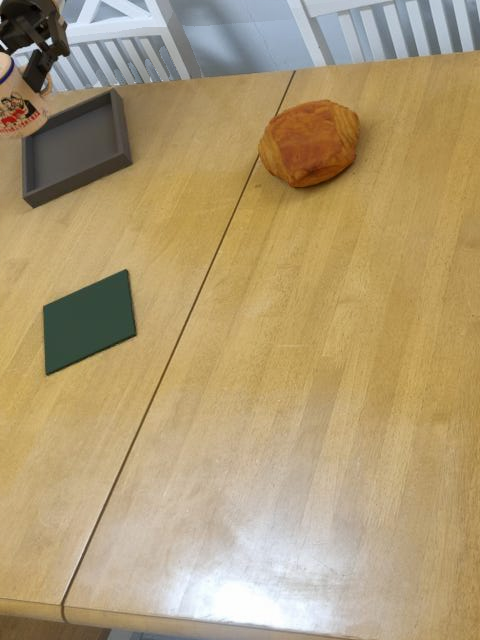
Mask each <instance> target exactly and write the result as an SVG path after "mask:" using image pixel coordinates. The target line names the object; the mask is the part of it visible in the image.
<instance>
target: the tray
mask: <svg viewBox="0 0 480 640" xmlns="http://www.w3.org/2000/svg"><path fill="white" fill-rule="evenodd" d="M126 119H127V118H126V114H125V107H124V101H123V98H122V96H121V95H120V94H119V92H118V91H117V89H116V88H115V87H111V88H110V89H107V90H106V91H103V92H100V93H99V94H96V95H94V96H92V97H90V98H88V99H85V100H83V101H81V102H78V103H76V104H74V105H72V106H69V107H67V108H64V109H62V110H60V111H58V112H56V113H53V114H50V117H49V119H48V120H47V122H46V123H45V124H44V125H43V126H42V127H41V128H40V129H38V130H37V131H36V132H34V133H32V134H31V135H29V136H26V137H24V138H21V139H20V140H21V195H22V197H21V198H22V199H23V200H24V201H25V202H26V204H28V206H30V207H31V208H32V209H35V208H37V207H39V206H42V205H44V204H47V203H48V202H50V201H53V200H55V199H58V198H59V197H61V196H64V195H66V194H68V193H71V192H73V191H75V190H77V189H79V188H82V187H84V186H86V185H89V184H91V183H93V182H96V181H97V180H99V179H102V178H104V177H107V176H109V175H111V174H113V173H116V172H117V171H120V170H122V169H125V168H127V167H129V166H131V165H133V157H132V152H131V144H130V139H129V138H130V137H129V133H128V127H127V122H126Z"/></svg>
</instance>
